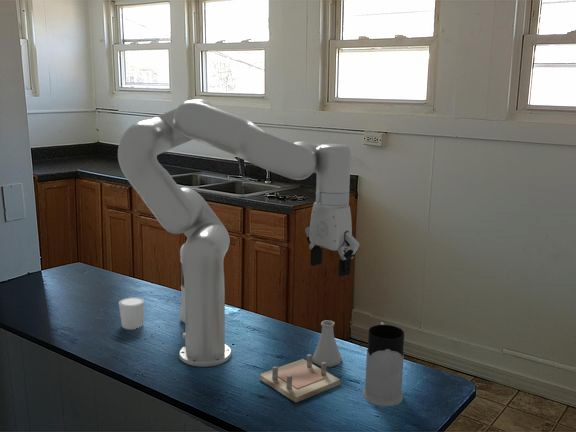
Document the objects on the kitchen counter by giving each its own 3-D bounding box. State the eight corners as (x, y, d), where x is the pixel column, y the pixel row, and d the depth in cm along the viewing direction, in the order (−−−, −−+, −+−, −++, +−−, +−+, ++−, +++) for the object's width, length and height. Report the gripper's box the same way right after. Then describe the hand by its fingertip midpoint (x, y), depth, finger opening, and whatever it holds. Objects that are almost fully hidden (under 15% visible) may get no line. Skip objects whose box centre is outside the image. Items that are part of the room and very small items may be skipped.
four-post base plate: (259, 379, 140) (259, 362, 139) (302, 363, 148) (303, 348, 147) (295, 402, 130) (296, 385, 129) (340, 384, 138) (340, 368, 137)
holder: (363, 405, 129) (367, 339, 126) (359, 373, 143) (362, 313, 140) (405, 407, 129) (410, 341, 126) (397, 375, 143) (401, 314, 140)
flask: (322, 352, 154) (323, 314, 152) (346, 360, 150) (348, 321, 148) (305, 362, 148) (306, 323, 146) (331, 370, 144) (332, 331, 142)
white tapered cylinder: (127, 332, 163) (126, 307, 162) (115, 324, 168) (114, 300, 167) (150, 326, 168) (149, 301, 166) (138, 318, 173) (137, 295, 171)
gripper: (295, 194, 144) (294, 263, 148) (347, 206, 131) (343, 282, 135) (319, 190, 149) (317, 258, 153) (371, 203, 136) (367, 276, 140)
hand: (329, 269), depth 144 cm, fingers open, 9 cm apart
